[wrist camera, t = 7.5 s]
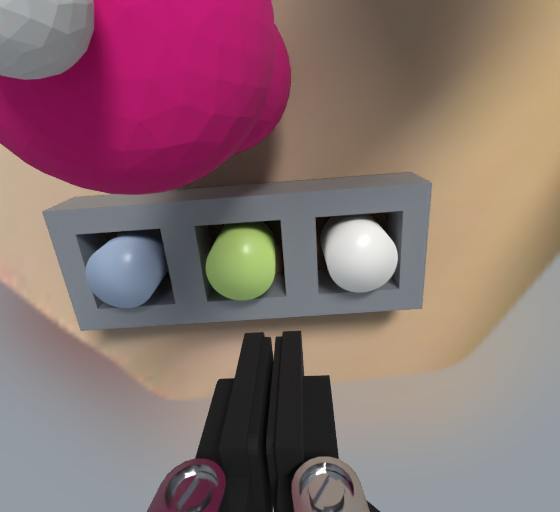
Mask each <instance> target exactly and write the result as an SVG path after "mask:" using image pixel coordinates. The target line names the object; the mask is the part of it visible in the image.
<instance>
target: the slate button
mask: <svg viewBox="0 0 560 512" xmlns="http://www.w3.org/2000/svg"><path fill="white" fill-rule="evenodd" d="M168 270H169V269H168V265H167V260H166V255H165V250H164V245H163V240H162V235H161V232H160V231H159V230H157V229H146V230H132V231H121V232H120V233H119V234H117V235H116V236H115V237H114V238H112V239H111V240H110V241H109V242H107V243H106V244H105V245H104V246H102V247H101V248H100V249H99V250H97V251H96V252H95V253H94V254H93V255H92V256H91V257H90V258H89V260H88V262H87V265H86V271H85V274H86V280H87V283H88V285H89V287H90V289H91V290H92V292H93V293H94V294H95V295H96V296H97V297H98V298H99V299H100V300H102V301H103V302H105V303H107V304H109V305H111V306H114V307H118V308H133V307H137V306H139V305H142V304H143V303H145V302H146V301H147V300H148V299H149V298H150V297H151V295H152V294H153V292H154V291H155V289H156V288H157V286H158V285H159V283H160V282H161V280H162V279H163V278H164V276H165V275H166V273H167V272H168Z"/></svg>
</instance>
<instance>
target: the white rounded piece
mask: <svg viewBox="0 0 560 512" xmlns="http://www.w3.org/2000/svg"><path fill="white" fill-rule="evenodd" d="M320 241H321V247H322V250H323V254H324V257H325V261H326V264H327V267H328V271H329V274H330V276H331V278H332V279H333V281H334V282H335V283H336V284H337V285H338V286H340V287H341V288H343V289H345V290H348V291H351V292H357V293H362V292H369V291H372V290H375V289H377V288H379V287H381V286H382V285H384V284H385V283H386V282H387V281H388V280H389V279H390V278H391V276H392V275H393V273H394V271H395V269H396V266H397V261H398V254H397V249H396V246H395V244H394V242H393V241H392V240H391V238H390V237H389V236H388V235H387V234H386V232H385V231H384V230H383V229H382V228H381V226H380V225H379V224H378V223H377V221H376V220H375V219H374V218H373V217H372V216H371V215H370V214H368V213H367V214H354V215H340V216H332V217H331V218H330V219H328V221H327V222H326V223H325V225H324V227H323V229H322V232H321V237H320Z"/></svg>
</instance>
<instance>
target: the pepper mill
mask: <svg viewBox="0 0 560 512" xmlns="http://www.w3.org/2000/svg"><path fill="white" fill-rule="evenodd" d="M290 85H291V69H290V62H289V56H288V53H287V50H286V47H285V43H284V41H283V39H282V37H281V35H280V33H279V31H278V29H277V27H276V25H275V24H274V14H273V7H272V3H271V0H0V143H1V144H2V145H3V146H5V147H6V148H7V149H8V150H10V151H11V152H12V153H14V154H15V155H16V156H18V157H19V158H20V159H22V160H23V161H24V162H26V163H27V164H29V165H31V166H33V167H34V168H36V169H38V170H40V171H41V172H43V173H46V174H48V175H51V176H53V177H56V178H58V179H60V180H63V181H65V182H68V183H70V184H73V185H76V186H79V187H82V188H85V189H90V190H95V191H100V192H105V193H110V194H125V195H142V194H152V193H161V192H166V191H169V190H173V189H176V188H179V187H183V186H186V185H188V184H190V183H192V182H194V181H196V180H198V179H200V178H202V177H204V176H206V175H208V174H209V173H210V172H212V171H213V170H215V169H216V168H217V167H219V166H220V165H221V164H223V163H224V162H225V161H227V160H228V159H229V158H230V157H231V156H232V155H233V154H236V153H239V152H242V151H244V150H247V149H250V148H252V147H253V146H255V145H256V144H258V143H259V142H261V141H262V140H263V139H264V138H266V137H267V136H268V135H269V134H270V133H271V132H272V131H273V129H274V128H275V126H276V125H277V123H278V122H279V120H280V119H281V117H282V115H283V112H284V110H285V108H286V105H287V101H288V98H289V93H290Z"/></svg>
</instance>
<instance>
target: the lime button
mask: <svg viewBox="0 0 560 512" xmlns="http://www.w3.org/2000/svg"><path fill="white" fill-rule="evenodd" d="M275 260H276V241H275V237H274V235H273V233H272V231H271V229H270V228H269V227H268V226H267V225H266V224H265V223H263V222H262V221H257V222H243V223H229V224H225V225H224V226H223V227H222V229H221V230H220V232H219V234H218V236H217V238H216V240H215V242H214V244H213V246H212V249H211V251H210V253H209V255H208V257H207V260H206V275H207V278H208V280H209V282H210V284H211V285H212V287H213V288H214V289H215V290H216V291H217V292H218V293H220V294H221V295H223V296H225V297H227V298H230V299H233V300H250V299H254V298H256V297H258V296H260V295H262V294H263V293H265V292H266V291H267V290H268V288H269V287H270V286H271V284H272V282H273V280H274V276H275Z"/></svg>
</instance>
